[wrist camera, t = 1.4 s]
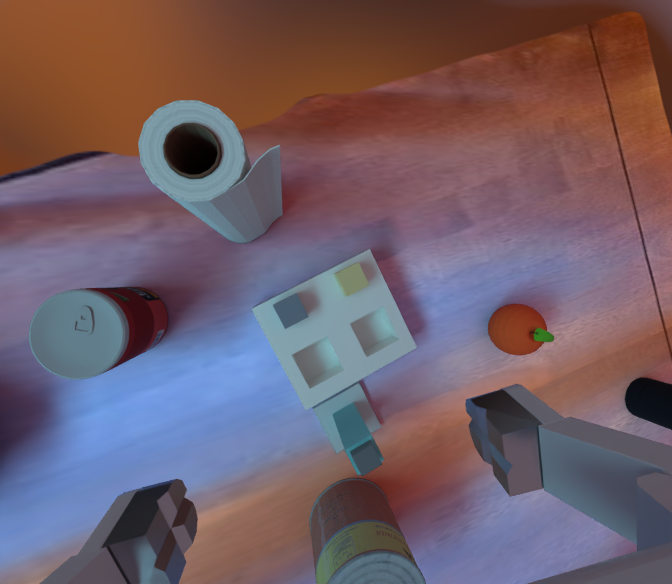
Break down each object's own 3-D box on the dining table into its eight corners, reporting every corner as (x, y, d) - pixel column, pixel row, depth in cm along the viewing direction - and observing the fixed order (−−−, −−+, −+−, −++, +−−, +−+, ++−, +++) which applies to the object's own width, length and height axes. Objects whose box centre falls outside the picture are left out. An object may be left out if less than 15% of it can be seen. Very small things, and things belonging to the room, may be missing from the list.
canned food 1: (166, 283, 38) (119, 284, 27) (174, 347, 39) (131, 373, 28) (97, 290, 37) (20, 293, 26) (106, 356, 38) (34, 386, 27)
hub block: (406, 342, 44) (423, 351, 38) (304, 399, 42) (306, 417, 36) (362, 251, 42) (374, 247, 37) (254, 306, 40) (249, 310, 35)
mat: (380, 425, 43) (381, 427, 43) (335, 451, 42) (336, 453, 42) (358, 381, 43) (359, 383, 42) (312, 407, 42) (312, 409, 41)
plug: (363, 422, 42) (387, 465, 32) (342, 434, 42) (360, 481, 32) (353, 402, 42) (374, 439, 32) (332, 414, 42) (346, 455, 32)
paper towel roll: (207, 228, 39) (115, 166, 18) (231, 186, 39) (168, 76, 18) (260, 256, 40) (232, 230, 19) (282, 215, 40) (280, 143, 19)
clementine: (531, 310, 47) (574, 315, 40) (519, 355, 47) (561, 368, 40) (484, 297, 45) (520, 299, 38) (472, 343, 45) (506, 354, 38)
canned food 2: (387, 554, 44) (424, 653, 32) (307, 561, 42) (316, 670, 31) (391, 475, 44) (431, 547, 32) (311, 480, 42) (322, 557, 30)
